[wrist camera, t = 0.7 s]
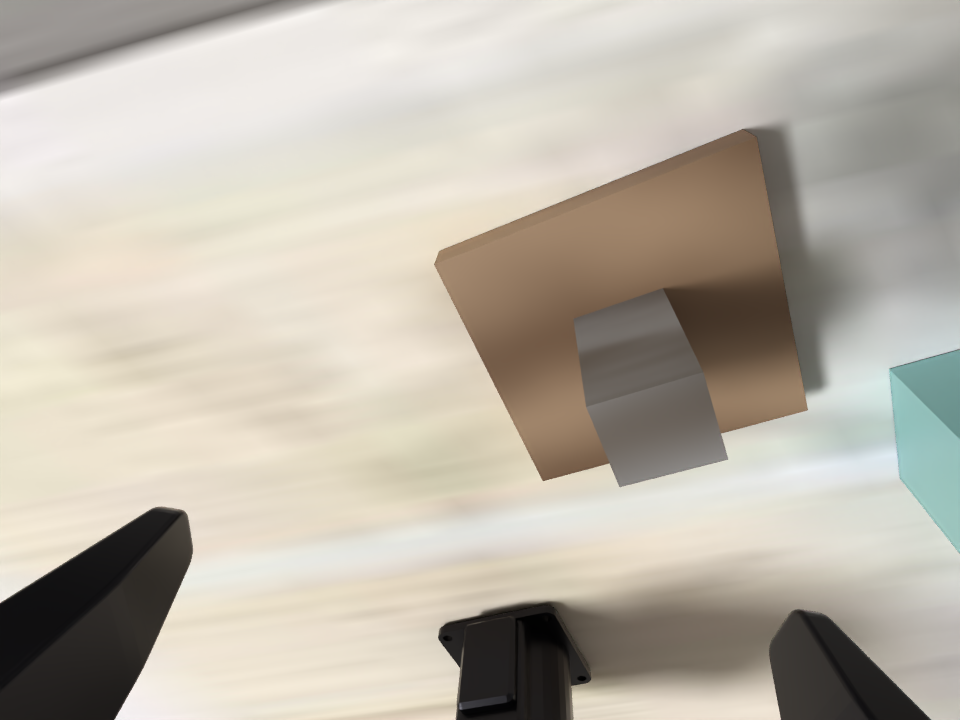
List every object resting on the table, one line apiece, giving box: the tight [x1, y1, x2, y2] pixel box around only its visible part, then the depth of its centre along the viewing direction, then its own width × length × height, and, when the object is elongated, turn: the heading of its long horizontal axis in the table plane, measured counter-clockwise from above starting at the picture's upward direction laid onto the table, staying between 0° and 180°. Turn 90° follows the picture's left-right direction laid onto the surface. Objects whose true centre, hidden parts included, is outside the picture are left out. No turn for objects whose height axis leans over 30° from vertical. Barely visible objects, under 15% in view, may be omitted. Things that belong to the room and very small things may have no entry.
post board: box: [434, 129, 808, 487], centre depth 18 cm, size 10×10×6 cm
